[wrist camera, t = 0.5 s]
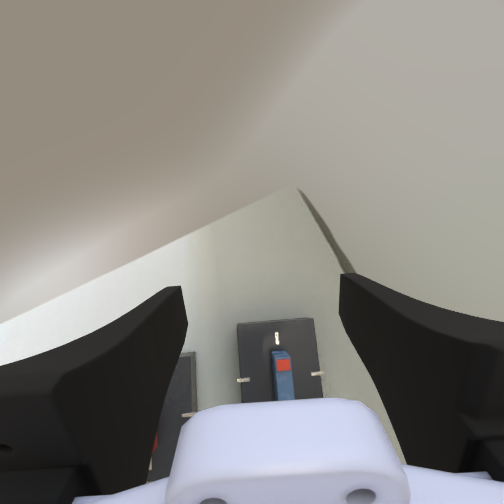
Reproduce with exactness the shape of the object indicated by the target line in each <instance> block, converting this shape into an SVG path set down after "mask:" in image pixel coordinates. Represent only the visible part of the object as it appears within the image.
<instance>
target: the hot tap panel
mask: <svg viewBox="0 0 504 504" xmlns="http://www.w3.org/2000/svg"><path fill="white" fill-rule="evenodd" d="M196 412H197V390H196V361H195V352H188V353H181V354H180V357H179V359H178V362H177V365H176V368H175V370H174V373H173V376H172V379H171V381H170V384H169V387H168V390H167V393H166V396H165V400H164V404H163V408H162V412H161V416H160V420H159V425H158V429H157V437H158V446H157V448H156V449H155V451H154V452H153V454H152V457H151V462H150V467H149V472H148V477H147V482H150V481H157V480H160V479H163V478H166V477H169V476H170V472H171V468H172V464H173V460H174V456H175V451H176V447H177V443H178V439H179V435H180V431H181V427H182V426H183V425H184V424H185V423H186V422H187V421H188V420H189V419H190V418H191V417H192V416H193V415H194V414H195V413H196Z"/></svg>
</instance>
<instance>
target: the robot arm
mask: <svg viewBox="0 0 504 504" xmlns="http://www.w3.org/2000/svg"><path fill="white" fill-rule="evenodd" d="M339 315H340V318H341V321H342V323H343V326H344V328H345V331H346V333H347V335H348V337H349V338H350V340H351V342H352V344H353V346H354V347H355V349H356V351H357V353H358V355H359V356H360V358H361V360H362V362H363V363H364V365H365V367H366V369H367V370H368V372H369V374H370V376H371V378H372V380H373V382H374V384H375V386H376V388H377V390H378V393H379V395H380V397H381V400H382V402H383V404H384V407H385V409H386V411H387V414H388V416H389V419H390V421H391V424H392V426H393V429H394V431H395V434H396V436H397V439H398V441H399V444H400V447H401V449H402V452H403V455H404V457H405V460H406V463H407V465H406V464H401V463H400V461H399V459H398V457H397V455H396V452H395V450H394V448H393V446H392V444H391V442H390V440H389V438H388V436H387V434H386V432H385V430H384V428H383V426H382V424H381V422H380V420H379V418H378V416H377V414H376V413H375V412H374V411H372V410H371V409H369V408H368V407H367V406H365V405H364V404H362V403H361V402H360V401H356V400H349V399H341V398H334V397H329V398H314V399H299V400H284V401H269V402H254V403H239V404H224V405H219V406H216V407H212V408H208V409H205V410H201V411H198V412H196V413H195V414H194V415H193V416H192V417H191V418H190V419H189V420H188V421H187V422H186V423H185V424H184V425H183V426H182V427H181V431H180V435H179V439H178V443H177V447H176V451H175V456H174V460H173V464H172V468H171V472H170V476H169V477H166V478H163V479H160V480H157V481H154V482H150V483H147V484H146V482H147V477H148V472H149V467H150V462H151V457H152V452H153V447H154V442H155V438H156V433H157V429H158V425H159V420H160V416H161V412H162V408H163V404H164V400H165V396H166V393H167V390H168V387H169V384H170V381H171V379H172V376H173V373H174V370H175V368H176V365H177V362H178V359H179V357H180V354H181V351H182V348H183V345H184V342H185V337H186V332H187V327H188V321H187V316H186V310H185V305H184V300H183V295H182V289H181V286H171V287H166V288H164V289H162V290H161V291H159V292H158V293H156V294H155V295H153V296H152V297H150V298H149V299H147V300H146V301H144V302H143V303H141V304H140V305H139V306H137V307H136V308H134V309H132V310H131V311H129V312H128V313H126V314H124V315H123V316H121V317H120V318H118V319H116V320H115V321H113V322H111V323H109V324H107V325H106V326H104V327H102V328H100V329H98V330H96V331H94V332H92V333H90V334H88V335H85V336H83V337H81V338H78V339H76V340H74V341H72V342H69V343H67V344H65V345H62V346H60V347H57V348H54V349H52V350H49V351H46V352H43V353H41V354H38V355H35V356H32V357H29V358H26V359H23V360H19V361H16V362H13V363H9V364H6V365H2V366H0V504H504V322H500V321H495V320H489V319H484V318H479V317H475V316H470V315H467V314H463V313H459V312H455V311H451V310H447V309H444V308H440V307H437V306H434V305H431V304H428V303H425V302H422V301H419V300H416V299H414V298H411V297H409V296H406V295H404V294H401V293H399V292H397V291H394V290H392V289H390V288H387V287H385V286H383V285H381V284H379V283H377V282H375V281H372V280H370V279H368V278H366V277H364V276H361V275H359V274H356V273H347V274H340V296H339Z"/></svg>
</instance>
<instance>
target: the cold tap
mask: <svg viewBox="0 0 504 504" xmlns="http://www.w3.org/2000/svg"><path fill="white" fill-rule="evenodd" d="M271 355H272V366H273V377H274V389H275V400H276V401H284V400H295V396H294V386H293V377H292V367H291V357H290V356H289V355H288V353H287V352H286V351H285V350H283V351H272V352H271Z"/></svg>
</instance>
